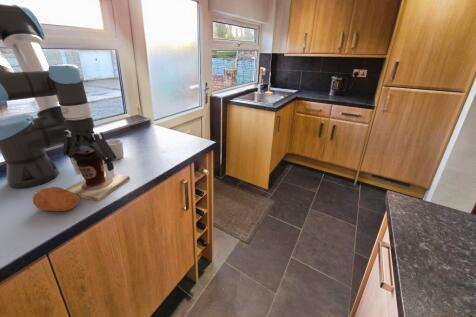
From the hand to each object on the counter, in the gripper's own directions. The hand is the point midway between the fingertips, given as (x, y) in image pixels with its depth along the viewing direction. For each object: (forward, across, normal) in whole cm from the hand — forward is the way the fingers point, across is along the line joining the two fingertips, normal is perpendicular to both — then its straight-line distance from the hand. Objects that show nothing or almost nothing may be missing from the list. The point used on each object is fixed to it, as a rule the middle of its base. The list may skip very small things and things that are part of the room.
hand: (95, 175), depth 83 cm
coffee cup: (+3, 0, 0) cm, 3 cm away
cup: (+4, -13, +22) cm, 26 cm away
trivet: (+4, 0, 0) cm, 4 cm away
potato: (+5, -1, -14) cm, 15 cm away
